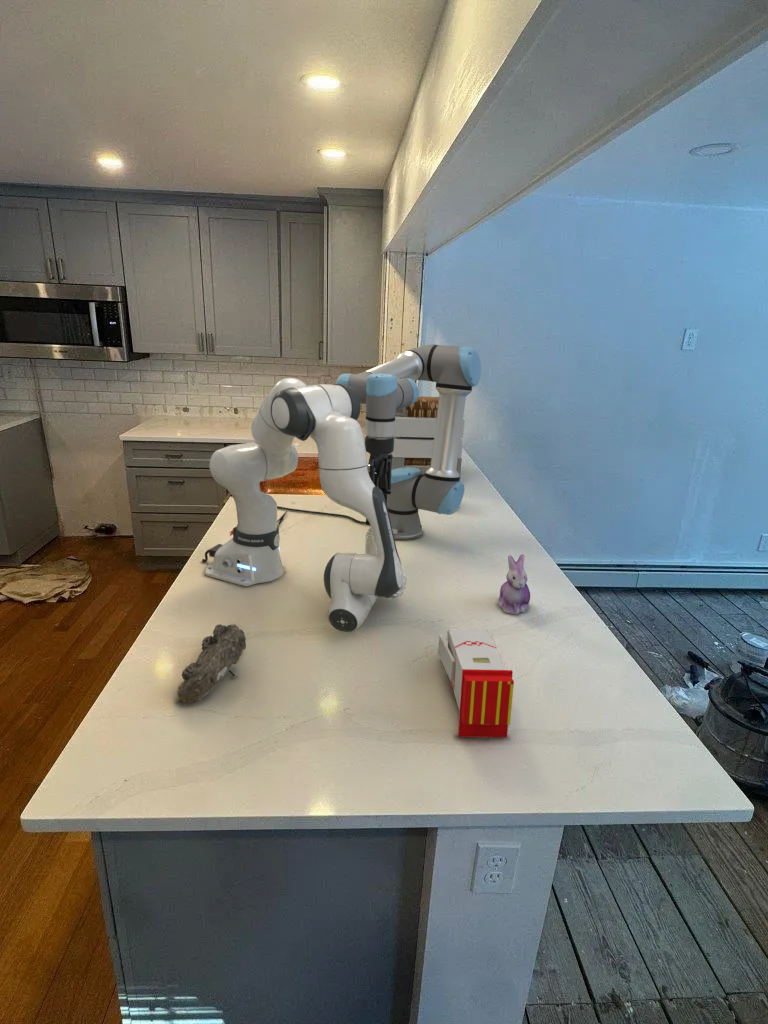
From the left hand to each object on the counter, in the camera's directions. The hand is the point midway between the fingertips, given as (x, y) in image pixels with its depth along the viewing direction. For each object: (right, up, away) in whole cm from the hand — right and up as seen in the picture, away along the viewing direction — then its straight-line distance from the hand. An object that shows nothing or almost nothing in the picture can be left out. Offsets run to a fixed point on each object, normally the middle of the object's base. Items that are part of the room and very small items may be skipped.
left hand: (374, 568), depth 158 cm
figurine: (+38, -10, -4) cm, 39 cm away
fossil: (-33, -19, -38) cm, 53 cm away
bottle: (0, -6, +1) cm, 6 cm away
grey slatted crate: (+20, +35, +117) cm, 124 cm away
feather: (-35, +15, +55) cm, 67 cm away
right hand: (0, +14, -6) cm, 15 cm away
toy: (+20, -22, -40) cm, 50 cm away
